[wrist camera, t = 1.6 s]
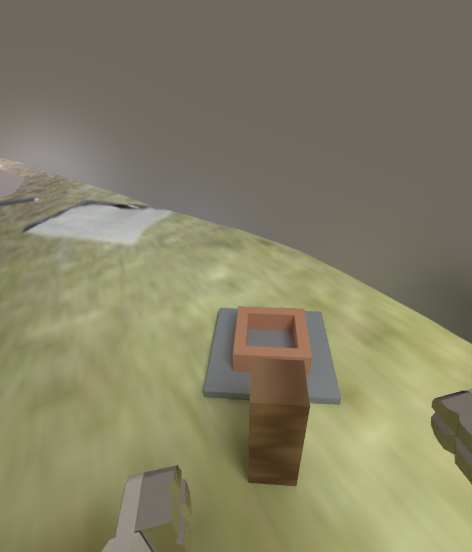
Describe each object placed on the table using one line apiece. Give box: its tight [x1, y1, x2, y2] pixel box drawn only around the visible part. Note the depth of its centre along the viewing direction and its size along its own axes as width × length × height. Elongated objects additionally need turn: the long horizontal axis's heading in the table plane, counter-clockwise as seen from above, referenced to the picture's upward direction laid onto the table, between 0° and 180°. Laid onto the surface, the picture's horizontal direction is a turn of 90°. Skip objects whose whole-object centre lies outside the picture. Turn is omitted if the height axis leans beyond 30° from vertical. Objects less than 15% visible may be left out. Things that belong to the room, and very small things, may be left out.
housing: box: [204, 306, 341, 404], centre depth 44 cm, size 16×16×4 cm
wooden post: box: [249, 358, 310, 486], centre depth 29 cm, size 4×4×12 cm
